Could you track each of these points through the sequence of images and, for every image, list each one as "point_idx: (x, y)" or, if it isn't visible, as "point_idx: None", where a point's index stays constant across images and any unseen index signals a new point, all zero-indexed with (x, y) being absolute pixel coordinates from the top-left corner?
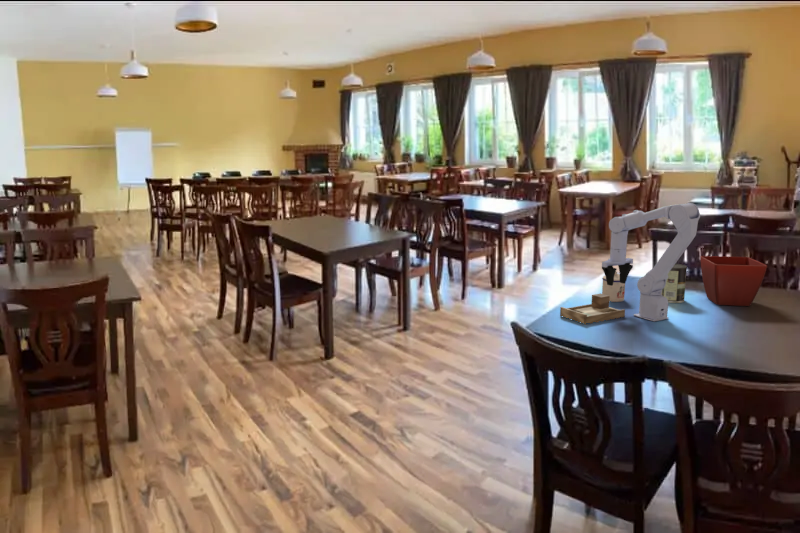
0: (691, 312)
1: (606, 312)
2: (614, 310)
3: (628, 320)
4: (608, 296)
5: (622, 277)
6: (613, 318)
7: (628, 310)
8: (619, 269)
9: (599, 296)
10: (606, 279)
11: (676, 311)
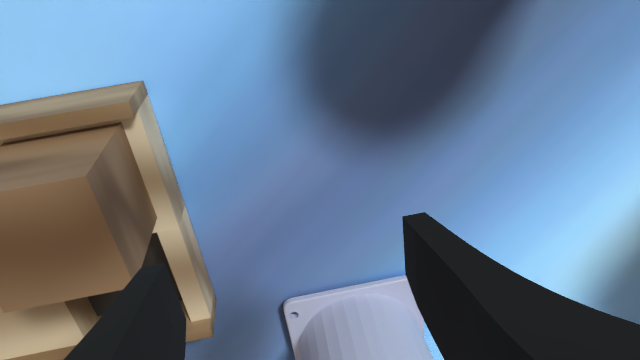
0: (634, 313)
1: (58, 318)
2: (172, 264)
3: (190, 357)
4: (117, 288)
5: (436, 300)
6: None
7: (354, 183)
8: (505, 340)
9: (2, 282)
10: (101, 322)
11: (593, 280)
